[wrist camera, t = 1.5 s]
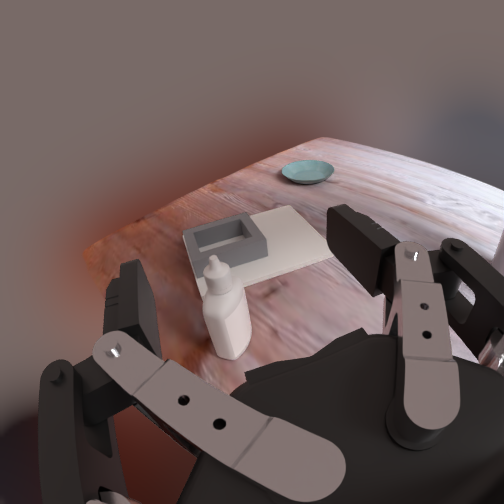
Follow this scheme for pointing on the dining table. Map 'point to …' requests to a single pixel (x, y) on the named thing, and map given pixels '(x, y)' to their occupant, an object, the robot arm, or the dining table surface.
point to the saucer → (308, 171)
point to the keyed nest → (255, 245)
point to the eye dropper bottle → (226, 310)
